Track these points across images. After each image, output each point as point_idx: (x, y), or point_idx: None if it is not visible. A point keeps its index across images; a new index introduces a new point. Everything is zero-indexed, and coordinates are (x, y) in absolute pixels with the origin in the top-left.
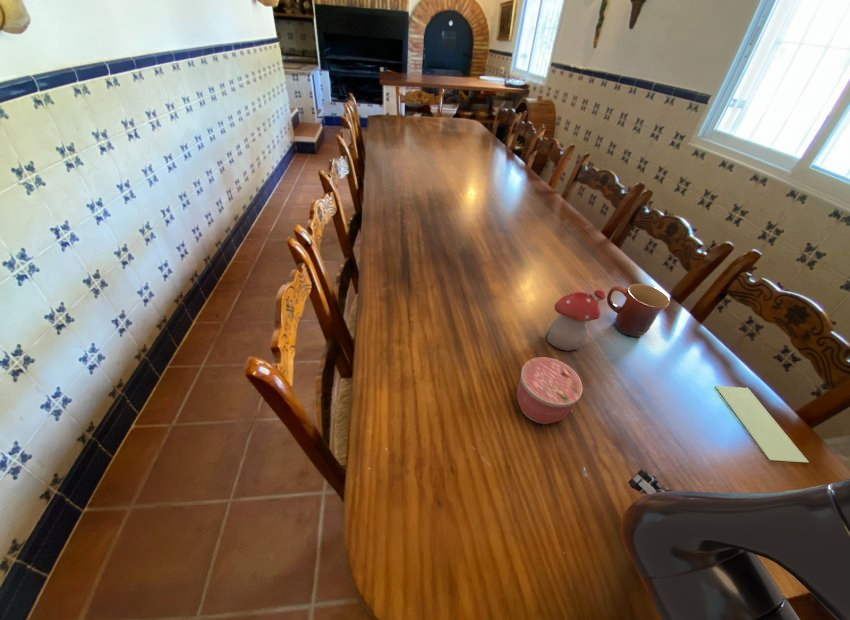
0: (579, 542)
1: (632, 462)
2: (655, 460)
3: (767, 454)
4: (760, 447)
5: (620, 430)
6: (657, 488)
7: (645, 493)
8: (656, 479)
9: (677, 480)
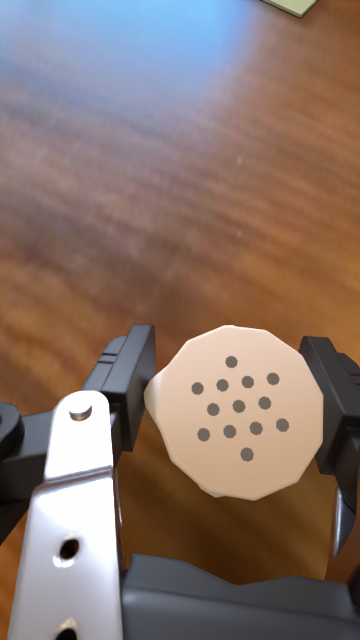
0: None
1: (82, 269)
2: (123, 216)
3: (291, 7)
4: (274, 3)
5: (24, 212)
6: (33, 465)
7: (21, 515)
8: (7, 415)
9: (183, 221)
